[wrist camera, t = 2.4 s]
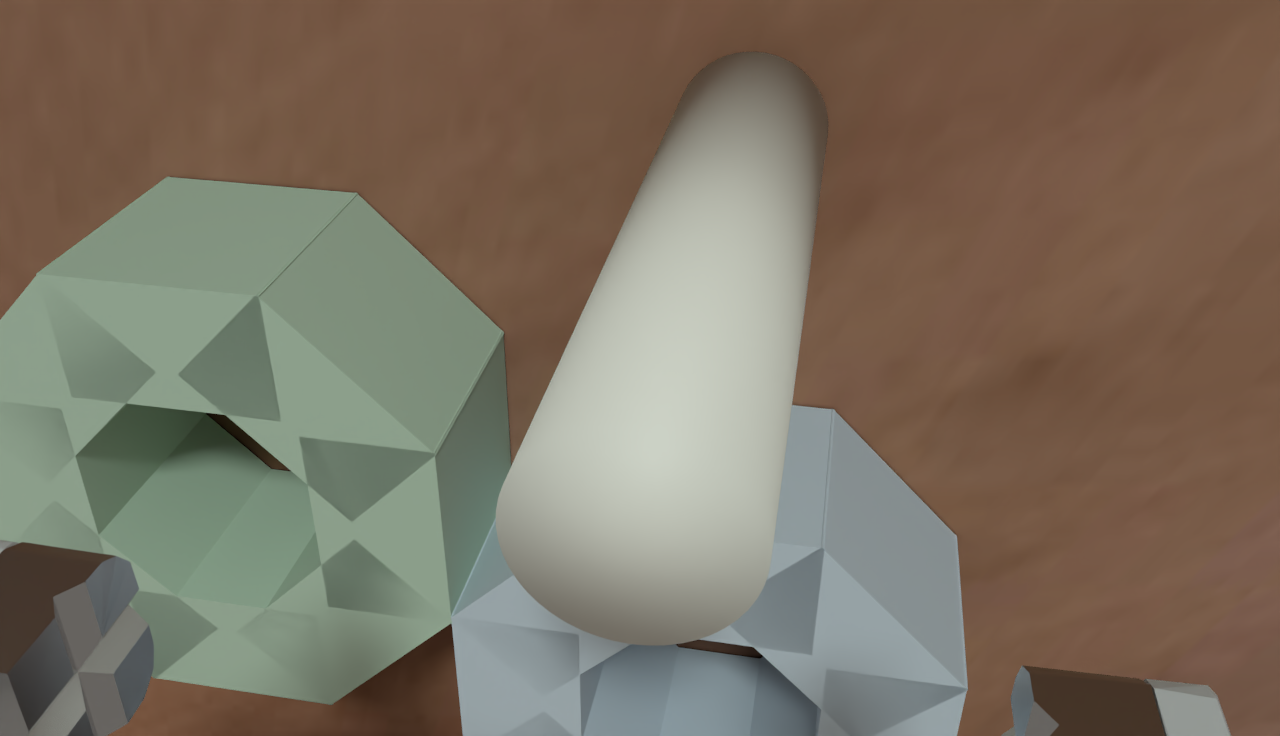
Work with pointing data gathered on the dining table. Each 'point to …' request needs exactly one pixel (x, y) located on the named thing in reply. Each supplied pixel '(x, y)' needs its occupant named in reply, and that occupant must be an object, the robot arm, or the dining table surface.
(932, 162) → the dining table surface
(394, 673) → the dining table surface
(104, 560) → the robot arm
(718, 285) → the dowel
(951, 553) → the bead
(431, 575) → the bead
